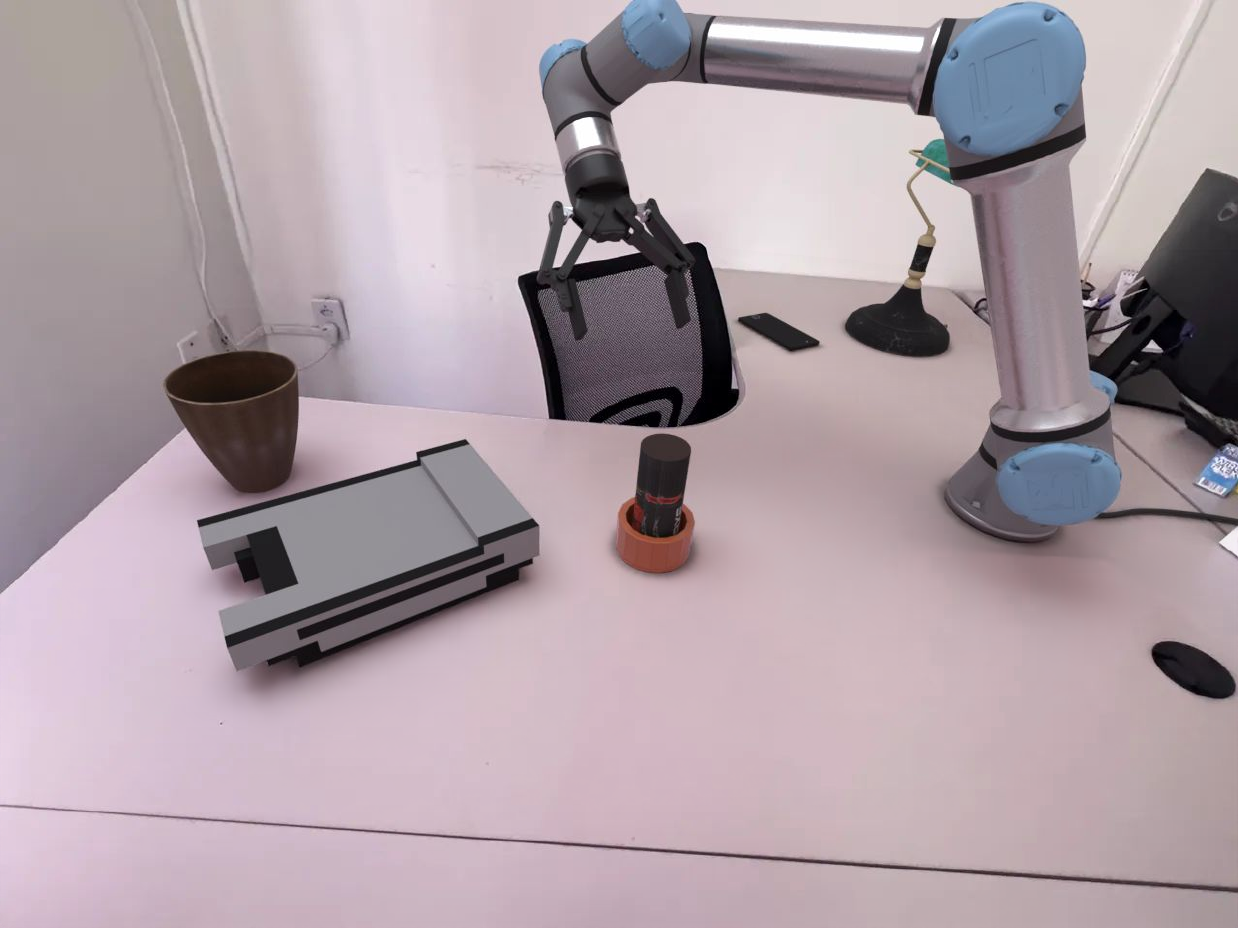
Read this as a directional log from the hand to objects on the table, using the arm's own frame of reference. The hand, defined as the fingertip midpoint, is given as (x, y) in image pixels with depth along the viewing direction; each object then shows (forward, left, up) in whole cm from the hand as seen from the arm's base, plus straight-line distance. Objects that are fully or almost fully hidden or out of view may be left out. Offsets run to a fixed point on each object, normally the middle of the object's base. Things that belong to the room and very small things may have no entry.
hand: (634, 330), depth 78 cm
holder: (-7, +8, -26) cm, 28 cm away
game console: (+22, +25, -26) cm, 42 cm away
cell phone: (-14, -72, -26) cm, 78 cm away
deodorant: (-7, +8, -25) cm, 27 cm away
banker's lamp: (-40, -84, -26) cm, 97 cm away
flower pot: (+48, +15, -26) cm, 56 cm away
